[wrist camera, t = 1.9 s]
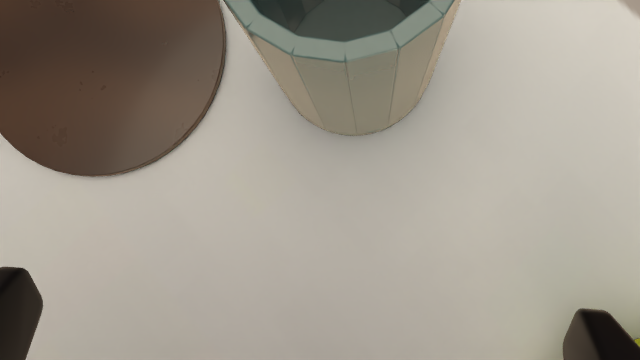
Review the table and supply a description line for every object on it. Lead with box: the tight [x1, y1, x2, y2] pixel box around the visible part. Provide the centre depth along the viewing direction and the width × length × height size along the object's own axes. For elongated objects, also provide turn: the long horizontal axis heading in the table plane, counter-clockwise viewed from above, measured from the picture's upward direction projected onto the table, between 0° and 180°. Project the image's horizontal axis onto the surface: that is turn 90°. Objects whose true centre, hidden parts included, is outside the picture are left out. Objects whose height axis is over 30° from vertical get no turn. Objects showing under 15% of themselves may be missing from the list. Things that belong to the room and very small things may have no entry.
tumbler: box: [223, 0, 461, 136], centre depth 18 cm, size 6×6×10 cm
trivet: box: [0, 0, 226, 177], centre depth 24 cm, size 11×11×1 cm
